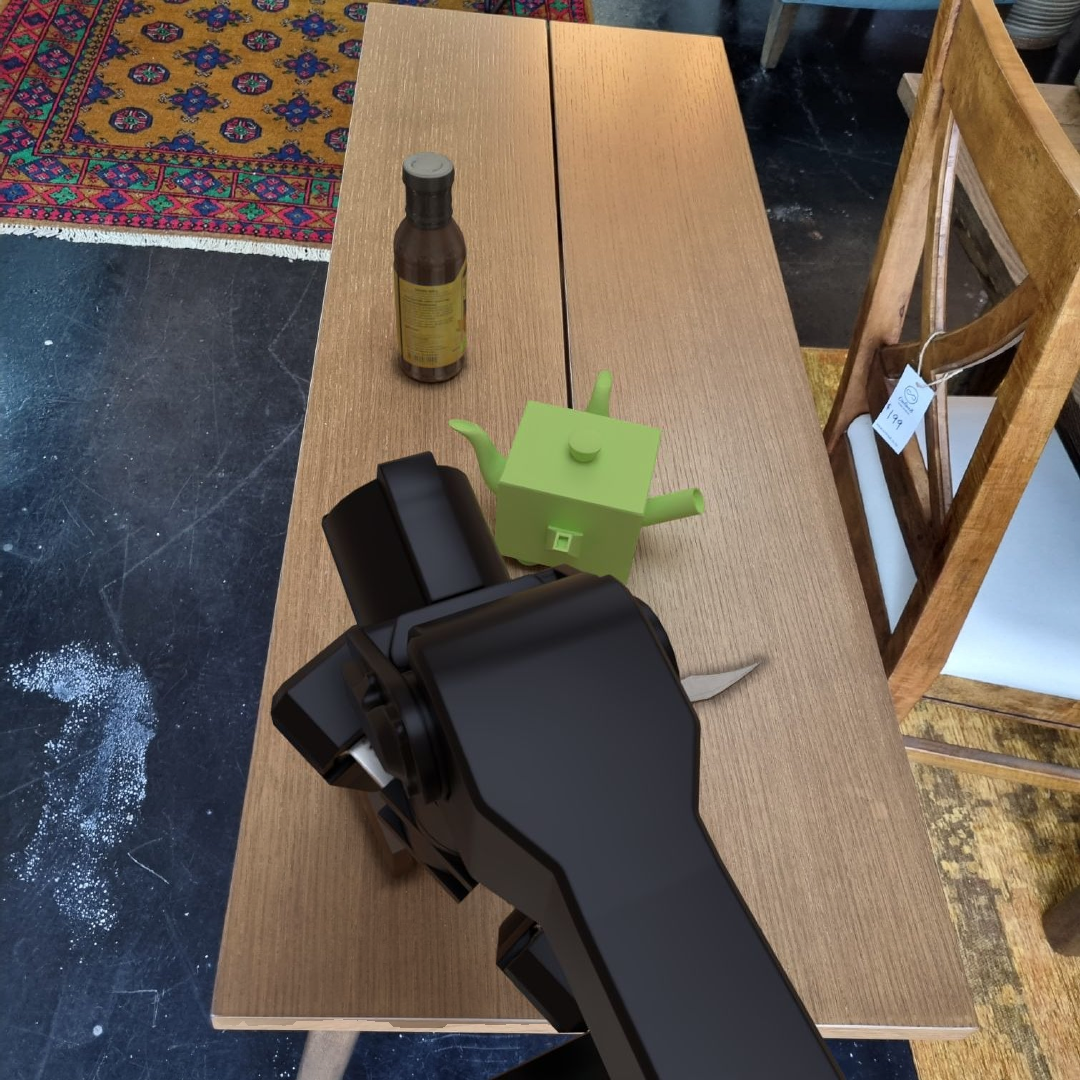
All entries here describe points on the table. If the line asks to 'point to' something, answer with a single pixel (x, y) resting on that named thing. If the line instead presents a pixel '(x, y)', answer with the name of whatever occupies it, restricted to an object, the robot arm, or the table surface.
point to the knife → (712, 683)
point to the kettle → (576, 486)
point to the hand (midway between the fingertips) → (447, 848)
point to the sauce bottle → (430, 272)
